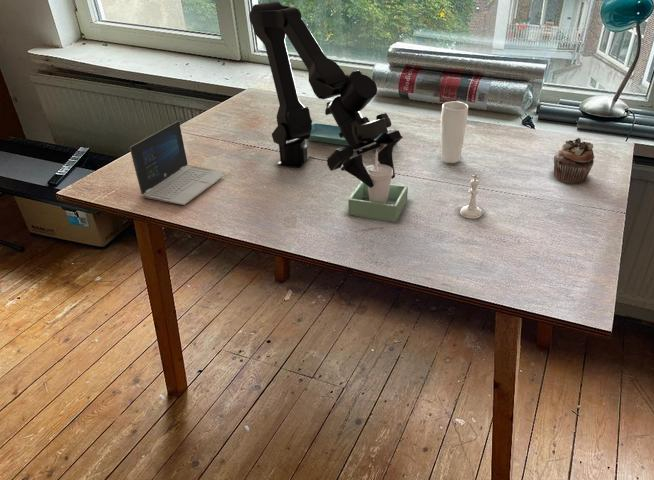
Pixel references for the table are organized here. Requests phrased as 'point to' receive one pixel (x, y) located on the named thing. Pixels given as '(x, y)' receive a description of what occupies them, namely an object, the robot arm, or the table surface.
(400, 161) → the table surface
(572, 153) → the cupcake
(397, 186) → the green open tray
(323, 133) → the shallow long dish
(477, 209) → the chess piece
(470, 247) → the table surface
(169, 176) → the laptop
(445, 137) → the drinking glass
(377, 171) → the smoothie
